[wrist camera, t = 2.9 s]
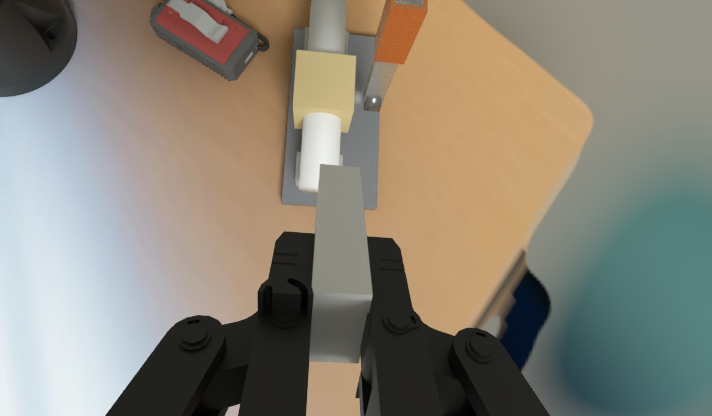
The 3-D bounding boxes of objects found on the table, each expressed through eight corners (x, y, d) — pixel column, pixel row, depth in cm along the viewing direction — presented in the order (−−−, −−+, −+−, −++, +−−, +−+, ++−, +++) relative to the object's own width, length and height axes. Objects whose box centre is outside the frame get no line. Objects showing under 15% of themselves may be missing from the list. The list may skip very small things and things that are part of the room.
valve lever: (381, 116, 45) (427, 16, 28) (358, 114, 45) (390, 12, 28) (382, 92, 46) (427, -19, 28) (359, 90, 45) (391, -24, 28)
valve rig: (374, 210, 49) (391, 192, 39) (282, 204, 48) (276, 185, 38) (379, 44, 53) (396, -10, 43) (294, 35, 52) (291, -22, 42)
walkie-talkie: (280, 38, 52) (147, -46, 51) (278, 16, 47) (132, -76, 47) (241, 91, 50) (102, 4, 50) (234, 73, 45) (83, -22, 45)
